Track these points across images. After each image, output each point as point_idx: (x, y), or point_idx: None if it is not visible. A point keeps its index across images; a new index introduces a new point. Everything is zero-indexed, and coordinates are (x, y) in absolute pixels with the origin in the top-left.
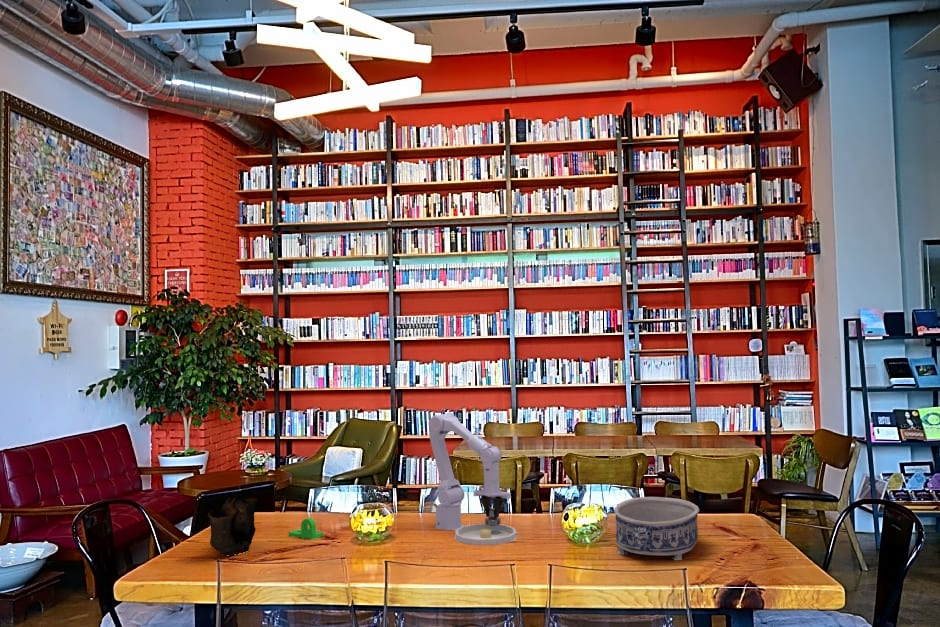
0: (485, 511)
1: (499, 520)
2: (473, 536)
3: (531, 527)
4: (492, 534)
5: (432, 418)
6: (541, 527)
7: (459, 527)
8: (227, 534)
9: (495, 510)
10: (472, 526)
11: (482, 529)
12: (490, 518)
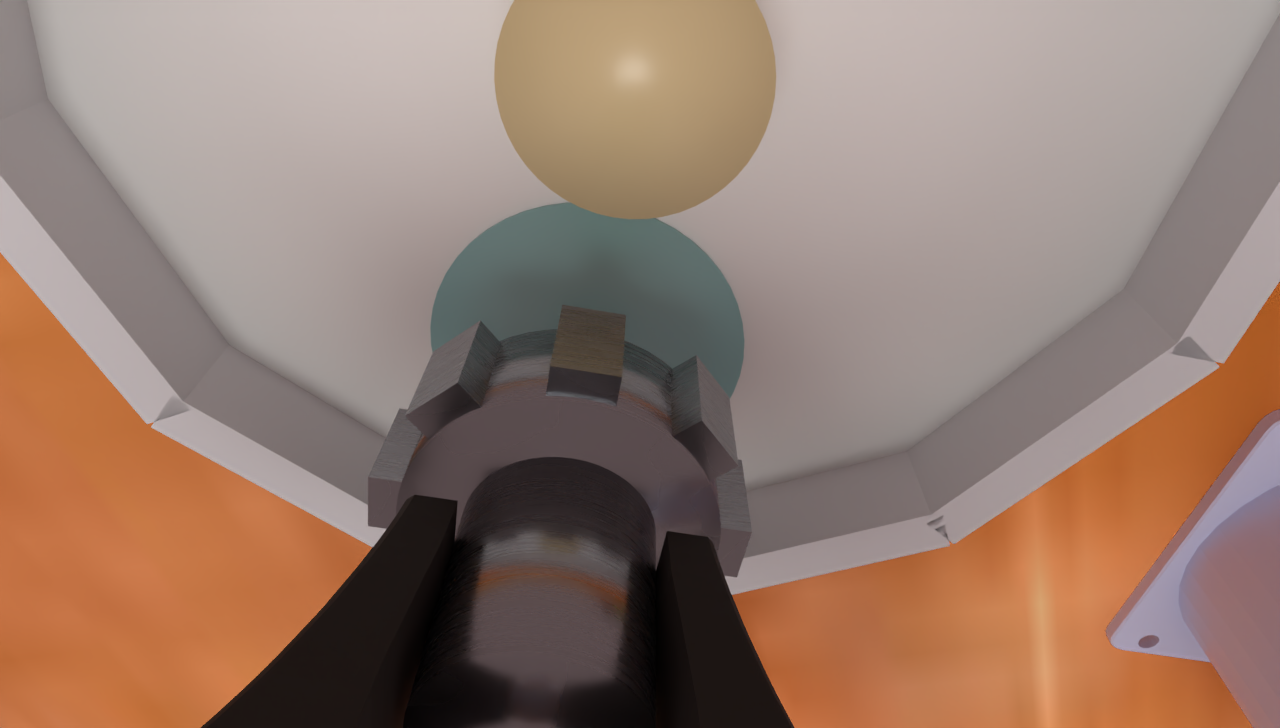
0: (734, 636)
1: (372, 472)
2: (920, 15)
3: (204, 691)
4: (550, 229)
5: None
6: (89, 705)
7: (1212, 536)
8: None
9: (354, 635)
10: (1004, 443)
11: (730, 133)
12: (584, 480)
